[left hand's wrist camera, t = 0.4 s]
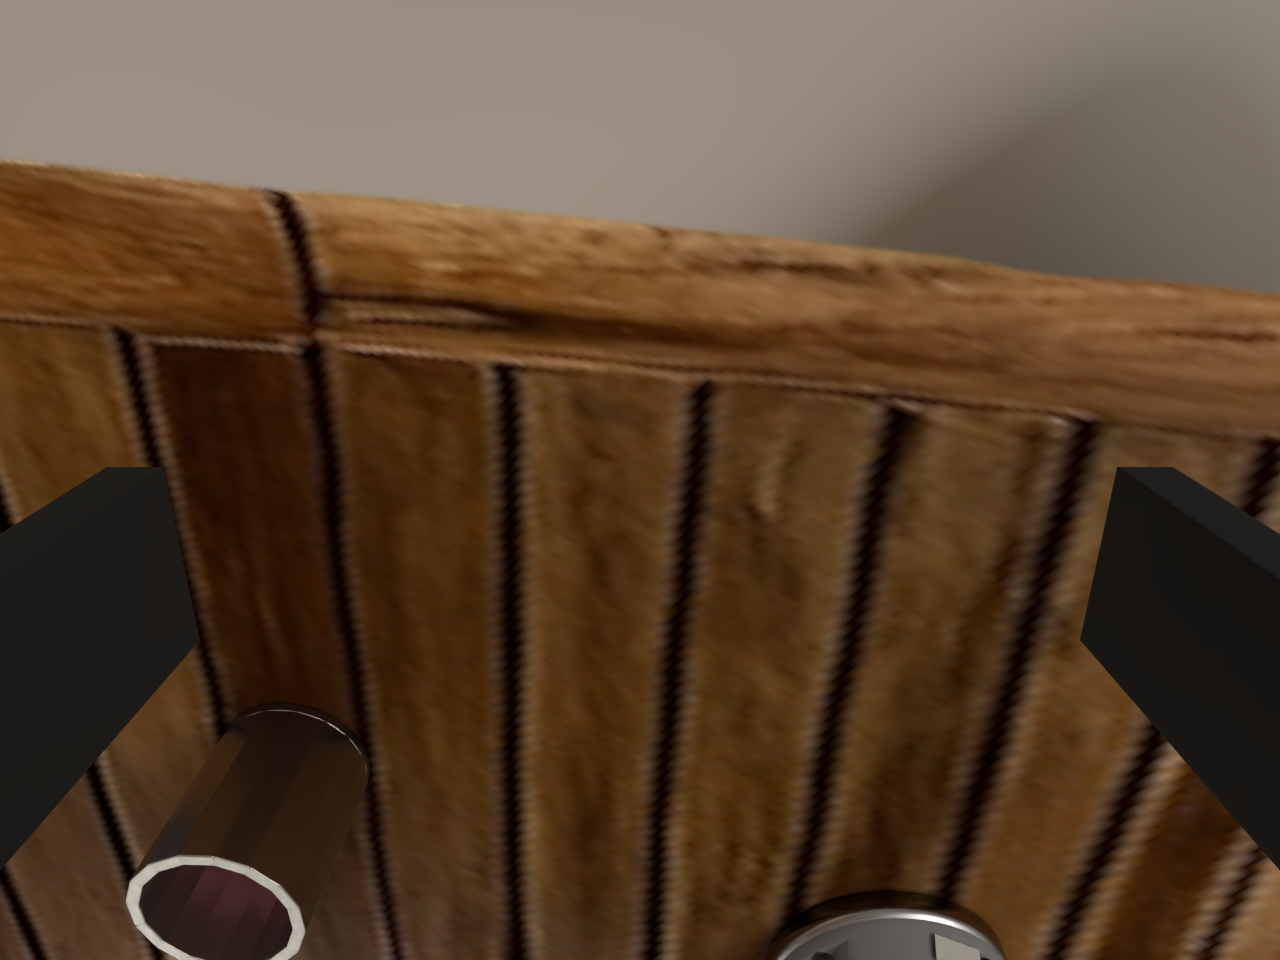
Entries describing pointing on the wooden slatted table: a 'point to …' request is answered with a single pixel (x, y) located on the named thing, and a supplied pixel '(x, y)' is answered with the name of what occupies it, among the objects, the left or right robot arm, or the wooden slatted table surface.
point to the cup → (252, 839)
